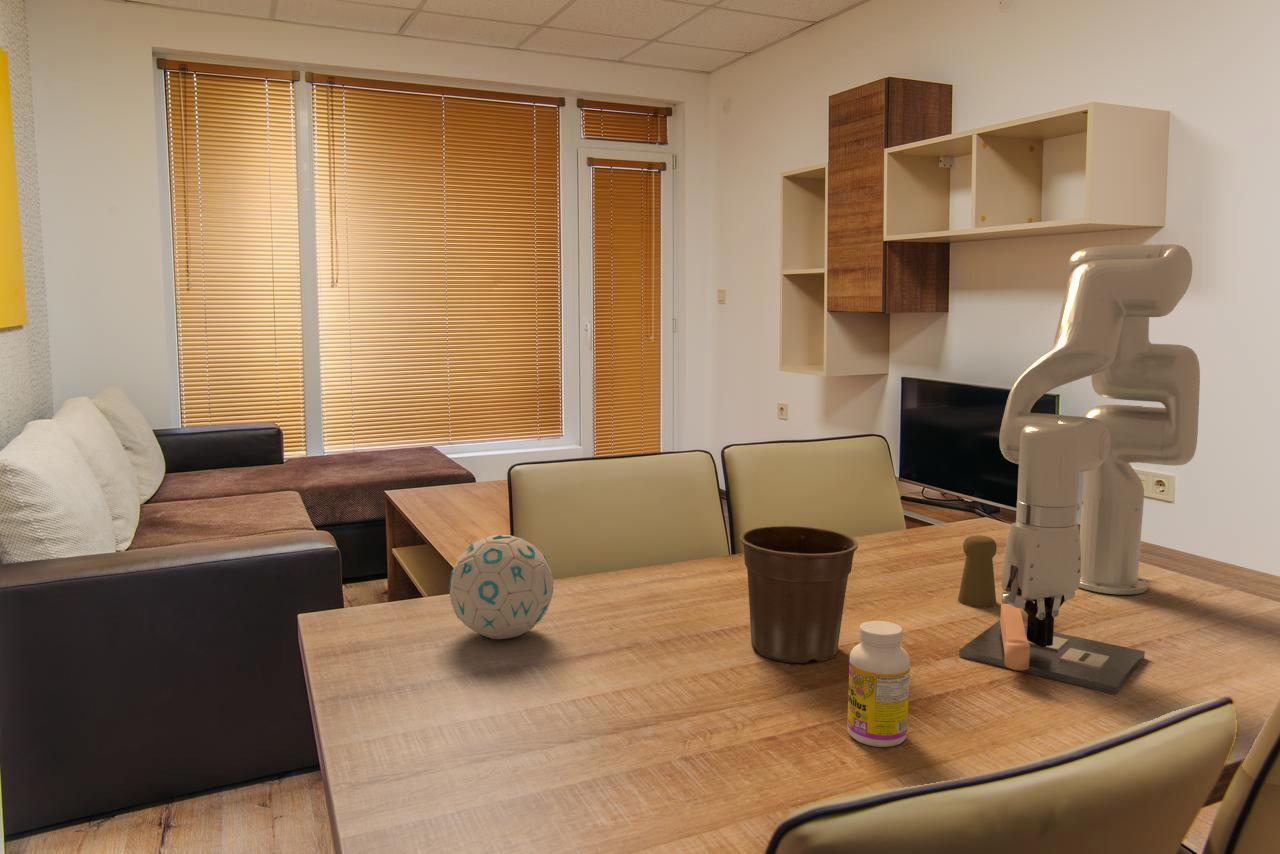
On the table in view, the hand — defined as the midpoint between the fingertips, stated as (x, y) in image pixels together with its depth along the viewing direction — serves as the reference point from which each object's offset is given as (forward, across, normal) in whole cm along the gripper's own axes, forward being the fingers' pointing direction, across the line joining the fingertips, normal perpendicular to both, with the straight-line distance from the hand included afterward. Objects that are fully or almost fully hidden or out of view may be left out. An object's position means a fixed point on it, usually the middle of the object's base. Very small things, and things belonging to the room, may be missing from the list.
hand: (1039, 642), depth 131 cm
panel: (+2, -2, 0) cm, 3 cm away
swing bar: (0, +4, -1) cm, 4 cm away
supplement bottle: (+1, +35, +12) cm, 37 cm away
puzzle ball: (+1, +68, -35) cm, 76 cm away
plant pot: (+2, +30, -15) cm, 33 cm away
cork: (+3, -9, -23) cm, 25 cm away
